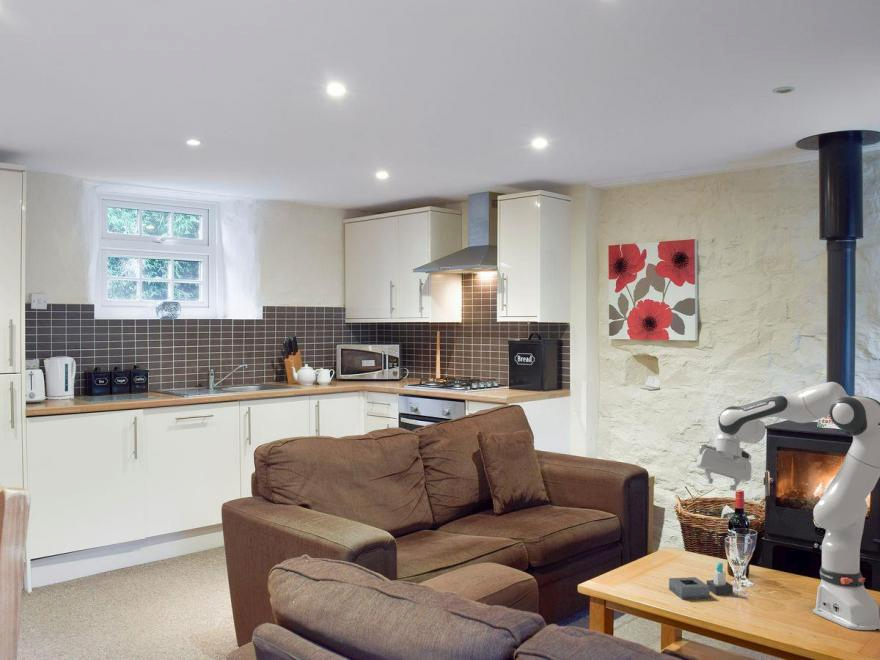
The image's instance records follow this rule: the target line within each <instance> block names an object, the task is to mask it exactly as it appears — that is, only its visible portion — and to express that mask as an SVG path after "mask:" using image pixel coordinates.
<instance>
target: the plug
mask: <svg viewBox="0 0 880 660" xmlns="http://www.w3.org/2000/svg"><path fill="white" fill-rule="evenodd" d="M723 565H724V564H723V562H717V561H716V570H713V577H712V578H713V579H712V580H713V583H714V584H716V585H726V582H727V577H726V576H727V573H726V572H725V571H724V568H723V567H724V566H723Z"/></svg>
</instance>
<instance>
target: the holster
mask: <svg viewBox="0 0 880 660" xmlns="http://www.w3.org/2000/svg"><path fill="white" fill-rule="evenodd" d="M706 585H708V586H709V592H711V593H712V594H714V595H715V596H721V595H723V596H724V595H733V594H734V593H733V590H734V589H733V588H734V585H732V584H731V583H729V582H728V581H726V585H716V584H714V583H713V579H712V580H711V579H710V580H707V579H706Z"/></svg>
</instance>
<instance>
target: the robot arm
mask: <svg viewBox="0 0 880 660" xmlns="http://www.w3.org/2000/svg"><path fill="white" fill-rule="evenodd" d="M828 416H829V417H830V420H831V422H833V424H834V425H835V426H836V427H837V428H839V429H840V430H841V431H842V432H844V433H845V434H846V435H847V436H849V437H852V443H851V445H850V447H849V449H848V451H847V453H846V455H845V457H844V459H843V461H842V463H841V465H840V467H839V470H838V472H837V473H836V475H835V476H834V478H833V479H832V480H831V481H830V483H829V484H828V485H827V488H826V489H825V491H824V492H823V494H822V495H821V498H820V499H819V501H818V502H816V504H815V506H814V508H813V510H812V511H813V512H812V514H813V519H814V521H815V522H816V523H817V525H818V526H819V527H820V528H822V529H824V530H825V534H824V537H823V539H822V542H821V565H820V569H819V577H820V579H821V580H820V583H819V585H818V587H817V592H816V593H817V594H816V602H815V607H814V608H813V609H812V612H813V613H814V614H815V615H817V616H820V617H822V618H825V619H826V620H829V621H831V622H833V623H836V624H838V625H840V626H842V627H844V628H847V629H850V630H857V631H872V630H873V631H877V630H876V629H879V630H880V608H879V605H878V602H877V599H874V598H873V596H872V595H871V594H870V592H869V591H868V590H867V589H866V588H865V585H864V582H866V578H865V577H863V575H862V572H861V571H860V569H861V568H860V567H861V566H860V565H861V564H860V563H861V562H860V561H861V560H860V559H861V556H860V555H861V552H860V551H861V544H862V543H861V542H862V537H863V534H864V527H865V520H866V516H867V514H868V510H869V508H868V503H867V501H866V499H867V498H868V497H869V495H870V494H871V492H872V491H873V490H874V489H875V487H876V484H877V483H878V481H879V479H880V401H878V400H876V399H875V398H872V397H868V396H862V395H861V396H860V395H853V396H850V395H849V394H847V392H846V390H845V389H844V387H843V386H842V385H841V384H839V383H838V382H835V381H829V382H823V383H819V384H816V385H811V386H809V387H806V388H804V389H801V390H799V391H796V392H795V391H794V392H791V393H788V394H782V395H777V396H772V397H767V398H764V399H762V400H757V401H754V402H752V403H748V404H745V405H740V406H737V405H736V406H734V405H733V406H727V407H726V408H724V409H722V410H721V411H720V413H719V415H718V419H717V423H716V436H715V439H714V445H713V446H712V445H708V444H705V443H704V444H701V445H700V446H699V450H698V453H699V454H698V457H697V459H696V467H697V468H698V469H700V470H704V475H705V477H706V483H707V484H712V485H713V481H714V479H713V478H712V476H711V474H712V473H714V474H717V475H719V476H722V477H727V478H730V479H733V484H732V485H730V487H729V490H730V491H733V492H736V491H737V486H739V484H740V483H741V482H744V483H745V482H748V481H750V479H751V477H752V463H751V462H750V461H751V460H752V455H751V454H750V453H749V452H747V451H746V450H744V449H743V448H742V447H740V446H741V442H744V443H749V444H757V443H759V442H760V441H762V439H764V437H765V435H766V425H765V423H764V421H762V420H763V419H767V418H779V419H784V420H786V421H791V422H795V423H799V424H807V423H811V422H812V423H813V422H815V421H818V420H821V419H823V418H826V417H828Z"/></svg>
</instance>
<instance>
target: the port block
mask: <svg viewBox="0 0 880 660" xmlns="http://www.w3.org/2000/svg"><path fill="white" fill-rule="evenodd" d="M668 590H669V591H671V592H672V593H673V594H674V595H676V596H677V597H678V598H679V599H681V600H693V599H694V600H698V599H700V600H701V599H710V591H709V586H708V585H707V583H705V582H703V581H702V580H700V579H699V578H697V577H696V576H692V577H672V578H671V577H670V578H668Z"/></svg>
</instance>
